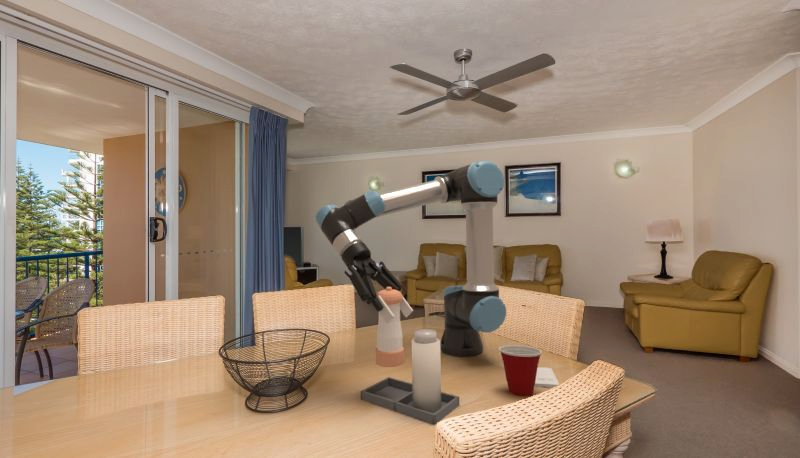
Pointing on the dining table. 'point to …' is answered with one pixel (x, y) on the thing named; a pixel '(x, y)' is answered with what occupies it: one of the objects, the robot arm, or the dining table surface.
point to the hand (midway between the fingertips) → (400, 316)
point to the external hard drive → (545, 378)
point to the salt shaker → (426, 371)
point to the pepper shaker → (390, 332)
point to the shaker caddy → (406, 400)
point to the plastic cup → (520, 368)
